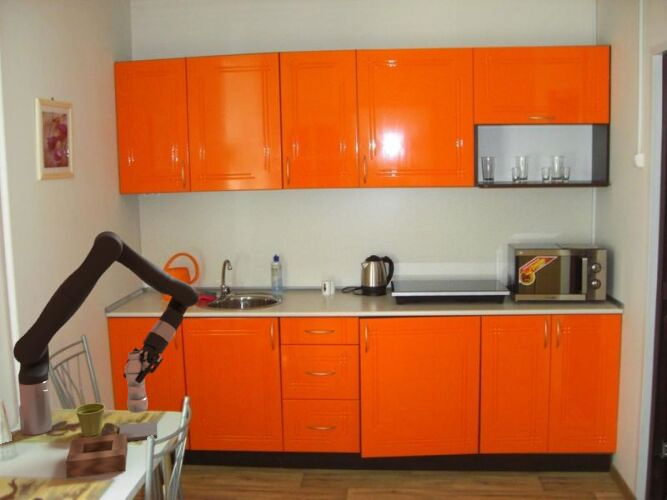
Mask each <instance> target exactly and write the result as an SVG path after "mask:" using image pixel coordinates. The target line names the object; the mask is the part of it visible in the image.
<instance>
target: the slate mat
mask: <svg viewBox="0 0 667 500" xmlns="http://www.w3.org/2000/svg"><path fill="white" fill-rule="evenodd" d="M118 431H119V432H118V434H125V433H127V442H130V441H137V440H138V441H141V440H148V439H147V437H148V436H151V435H153V436H154V437H155V438H154V439H156V438H158V421H157V420H156V421H155V420H154V421H146V422H145V421H144V422H137V423H136V422H134V423H128V424H120V425H119V430H118Z"/></svg>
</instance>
